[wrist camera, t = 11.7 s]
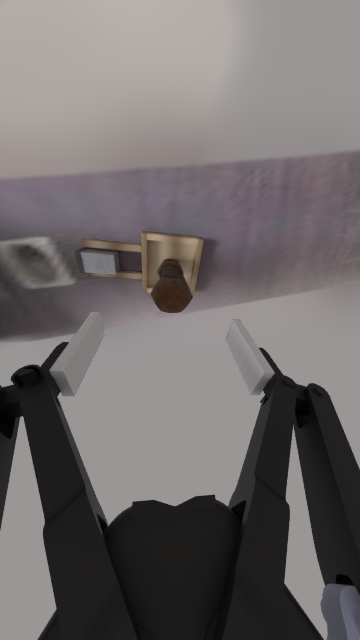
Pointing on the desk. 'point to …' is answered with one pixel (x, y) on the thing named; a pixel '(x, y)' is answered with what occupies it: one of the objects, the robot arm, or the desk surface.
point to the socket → (157, 256)
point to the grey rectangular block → (98, 261)
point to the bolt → (171, 288)
